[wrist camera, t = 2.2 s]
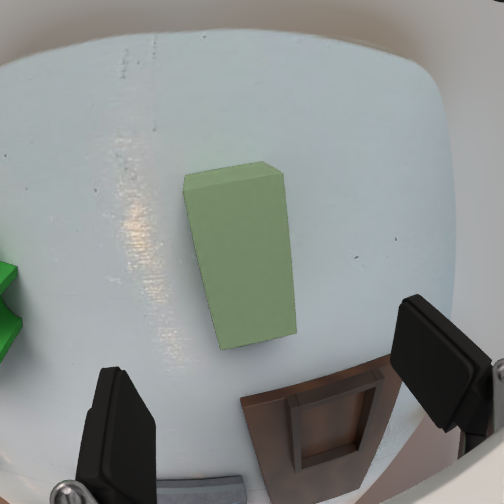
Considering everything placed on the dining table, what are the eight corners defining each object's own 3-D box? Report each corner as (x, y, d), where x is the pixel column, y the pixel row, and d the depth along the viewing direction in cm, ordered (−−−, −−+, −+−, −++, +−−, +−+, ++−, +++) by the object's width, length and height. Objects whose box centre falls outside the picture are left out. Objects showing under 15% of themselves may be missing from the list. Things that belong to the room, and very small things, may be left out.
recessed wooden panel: (404, 345, 26) (418, 363, 23) (356, 483, 42) (361, 494, 39) (239, 395, 24) (244, 420, 21) (274, 509, 40) (277, 520, 38)
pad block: (263, 161, 17) (283, 172, 13) (279, 297, 20) (296, 333, 17) (184, 175, 16) (182, 190, 13) (214, 310, 20) (220, 350, 16)
